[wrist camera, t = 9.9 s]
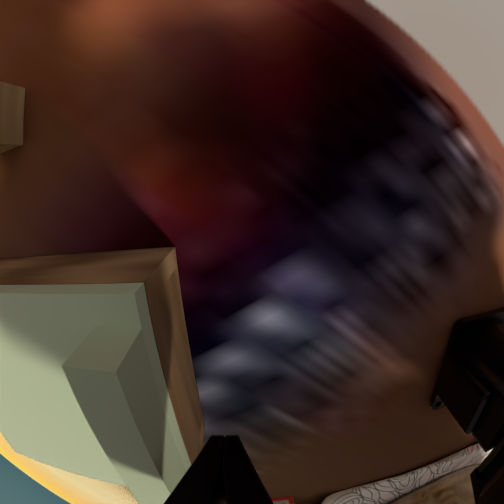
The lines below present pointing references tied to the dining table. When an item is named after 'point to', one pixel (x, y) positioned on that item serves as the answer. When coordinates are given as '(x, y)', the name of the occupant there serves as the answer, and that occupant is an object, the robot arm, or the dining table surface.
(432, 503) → the cookie jar
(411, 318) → the dining table surface
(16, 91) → the oak block
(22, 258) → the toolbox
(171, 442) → the lid
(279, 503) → the stack of blocks
